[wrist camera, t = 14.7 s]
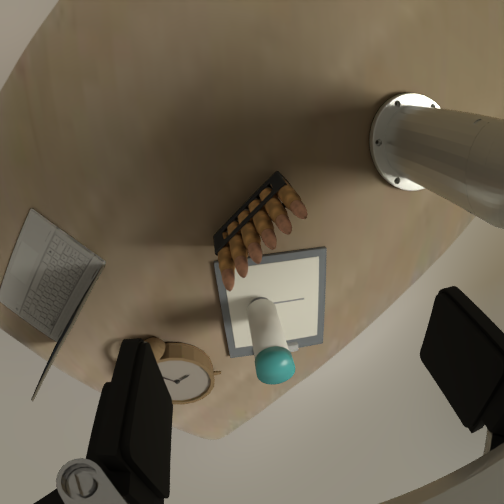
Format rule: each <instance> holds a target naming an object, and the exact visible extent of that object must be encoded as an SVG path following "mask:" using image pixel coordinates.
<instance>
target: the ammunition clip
mask: <svg viewBox="0 0 504 504" xmlns="http://www.w3.org/2000/svg"><path fill="white" fill-rule="evenodd" d="M278 197H279V198H280V199H281V201H282V202H283V203H281V202H280V200H279V199H278ZM285 207H286V208H288V209H290V210H291V211H292V212H293V214H294V215H296V216H297V217H299V218H301V219H306V218H307V210H306V207H305V206H304V204H303V203H302V201H301V198H300V196H299V195H298V194H297V192H296V191H295V190H294V189H293V188H292V186H291V185H290V183H289V182H288V181H287V180H286V179H285V178H284V177H283V176H282V175H281V174H280V173H279V172H278V171H276V172H275V173H274V174H273V175H272V176H271V177H270V178H269V179H268V180H267V181H266V182H265V183H264V184H263V185H262V186H261V187H260V188H259V189H258V190H257V191H256V192H255V193H254V194H253V195H252V196H251V197H250V199H249V200H248V201H247V202H246V203H245V204H244V205H243V206H242V207H241V208H240V209H239V210H238V211H237V212H236V213H235V214H234V215H233V216H232V217H231V218H230V219H229V220H228V221H227V222H226V223H225V224H224V225H223V226H222V228H221V229H220V230H219V231H218V232H217V233H216V234H215V235H214V237H213V238H214V248H215V254H216V255H218V262H219V269H220V271H221V276H222V281H223V284H224V286H225V288H226V289H227V290H228V291H231V290H232V289H233V287H234V283H235V267H236V270H237V272H238V274H239V275H240V276H241V277H242V278H245V277H246V275H247V273H248V259H247V257H248V253H249V255H250V257H251V259H252V260H253V261H254V262H255V263H256V264H260V262H261V260H262V250H261V245H260V242H261V240H260V236H261V238H262V240H263V242H264V243H265V245H266V246H267V247H268V248H270V249H272V250H274V249H275V248H276V244H277V240H276V236H275V233H274V226H273V223H272V221H273V222H275V224H276V225H277V226H278V228H279V229H280V230H281V231H282V232H283V233H285V234H290V233H291V231H292V226H291V222H290V220H289V217H288V215H287V211H286V209H285ZM266 210H267V211H266ZM267 212H268V213H267ZM268 214H269V215H268ZM259 235H260V236H259ZM247 250H248V251H247Z"/></svg>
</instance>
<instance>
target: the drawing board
mask: <svg viewBox="0 0 504 504" xmlns="http://www.w3.org/2000/svg"><path fill="white" fill-rule="evenodd" d="M247 259H248V273H247V275H246V277H245V278H242V277H241V276H240V275H239V274H238V272H237V270H236V267H235V283H234V287H233V289H232V290H231V291H228V290H227V289H226V288H225V286H224V284H223V281H222V276H221V271H220V269H219V262H218V261H214V268H215V274H216V280H217V286H218V292H219V297H220V303H221V309H222V315H223V320H224V326H225V331H226V337H227V342H228V348H229V353H230V358H234V357H242V356H249V355H254V351H253V345H252V339H251V334H250V328H249V322H248V317H247V308H248V306H249V305H250V303H251V302H252V300H254V299H255V298H258V297H265V298H267V299H268V300H270V301H272V302H273V303H274V304H275V306H276V309H277V313H278V316H279V319H280V322H281V326H282V329H283V332H284V335H285V339H286V342H287V345H288V349H289V351H290V352H293V351H298V348H300V347H305V346H311V345H316V344H321V343H323V331H324V311H325V287H326V247H317V248H310V249H302V250H295V251H287V252H280V253H272V254H265V255H262V260H261V262H260V264H256V263H255V262H254V261H253V260H252V259H251V257H247Z"/></svg>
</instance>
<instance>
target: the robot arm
mask: <svg viewBox="0 0 504 504" xmlns="http://www.w3.org/2000/svg"><path fill="white" fill-rule="evenodd" d="M376 140H377V143H375V142H376ZM370 152H371V156H372V159H373V163H374V165H375V167H376V169H377V171H378V172H379V173H380V175H381V176H382V177H383V178H384V179H385V180H386V181H387V182H388V183H390V184H391V185H393V186H395V187H397V188H399V189H402V190H406V191H418V190H421V189H425V188H426V189H428V190H430V191H432V192H434V193H436V194H437V195H439V196H441V197H443V198H445V199H447V200H449V201H450V202H452V203H454V204H456V205H458V206H459V207H461V208H463V209H465V210H467V211H468V212H470V213H472V214H474V215H475V216H477V217H479V218H481V219H482V220H484V221H486V222H487V223H489V224H491V225H493V226H495V227H498V228H502V229H504V119H499V118H494V117H489V116H484V115H479V114H474V113H468V112H462V111H456V110H449V109H442V108H440V107H439V106H438V105H437V103H435V102H434V101H433V100H432V99H430V98H428V97H426V96H424V95H421V94H417V93H403V94H398V95H396V96H393V97H392V98H390V99H389V100H387V101H386V102H385V103H384V104H383V105H382V106H381V107H380V109H379V110H378V112H377V113H376V115H375V117H374V120H373V122H372V125H371V131H370ZM420 358H421V360H422V362H423V363H424V365H425V367H426V368H427V369H428V371H429V372H430V374H431V375H432V377H433V378H434V380H435V381H436V383H437V384H438V386H439V388H440V389H441V391H442V392H443V394H444V395H445V397H446V398H447V400H448V401H449V403H450V405H451V406H452V408H453V409H454V411H455V412H456V414H457V416H458V417H459V419H460V420H461V422H462V424H463V425H464V426H465V427H467V428H469V430H470V431H471V433H474V432H475V431H477V430H479V429H481V428H483V426H484V425H486V427H487V435H486V442H485V448H484V454H483V456H482V457H480V458H478V459H477V460H475V461H473V462H471V463H469V464H467V465H466V466H464V467H462V468H460V469H458V470H456V471H454V472H452V473H450V474H448V475H446V476H444V477H442V478H440V479H438V480H436V481H434V482H431V483H429V484H427V485H425V486H423V487H421V488H418V489H416V490H413V491H411V492H408V493H406V494H404V495H401V496H398V497H396V498H393V499H390V500H388V501H385V502H382V503H379V504H504V333H503V332H502V331H501V330H500V329H499V328H498V327H497V326H496V325H495V324H494V323H493V322H492V321H491V320H490V319H489V318H488V317H487V316H486V315H485V314H484V313H483V312H482V311H481V310H480V309H479V308H478V307H477V306H476V305H475V304H474V303H473V302H472V301H471V300H470V299H469V298H468V297H467V296H466V295H465V294H464V293H463V292H462V291H461V290H460V289H458V288H457V287H455V286H452V287H448V288H444V289H442V290H440V291H439V293H438V295H437V296H436V298H435V301H434V305H433V309H432V313H431V317H430V320H429V324H428V328H427V331H426V334H425V338H424V341H423V344H422V348H421V351H420ZM172 414H173V403H172V398H171V396H170V393H169V391H168V389H167V386H166V384H165V381H164V379H163V376H162V374H161V371H160V369H159V366H158V364H157V361H156V359H155V356H154V353H153V351H152V348H151V345H150V344H149V343H148V342H147V343H144V341H143V339H142V338H137V339H124V340H123V341H122V344H121V348H120V351H119V355H118V358H117V362H116V365H115V369H114V373H113V377H112V380H111V382H106V383H105V384H104V386H103V389H102V392H101V397H100V400H99V404H98V408H97V412H96V416H95V420H94V424H93V428H92V433H91V438H90V441H89V446H88V451H87V456H86V459H83V458H81V459H74V460H72V461H69V462H67V463H66V464H65V465H63V466H62V468H61V469H60V471H59V472H58V475H57V478H56V487H57V489H55V490H54V491H52V492H51V493H50V494H48V495H46V496H45V497H43V498H42V499H40V500H39V501H37V502H36V503H34V504H164V498H168V497H169V493H170V455H171V454H170V453H171V432H172V431H171V430H172Z"/></svg>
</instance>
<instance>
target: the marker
mask: <svg viewBox="0 0 504 504" xmlns="http://www.w3.org/2000/svg"><path fill="white" fill-rule="evenodd" d="M247 317H248V322H249V328H250V334H251V339H252V345H253V351H254V356H255V367H256V373H257V377H258V379H259V380H260V381H261V382H263V383H266V384H279V383H282V382H285V381H287V380H288V379H290V378H291V377H292V376H293V374H294V372H295V365H294V362H293V358H292V355H291V353H290V351H289V349H288V345H287V342H286V339H285V335H284V332H283V329H282V326H281V322H280V319H279V316H278V313H277V309H276V306H275V304H274V303H273V302H272V301H270V300H268V299H267V298H265V297H258V298H255V299H254V300H252V302H251V303H250V305H249V306H248V308H247Z"/></svg>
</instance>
